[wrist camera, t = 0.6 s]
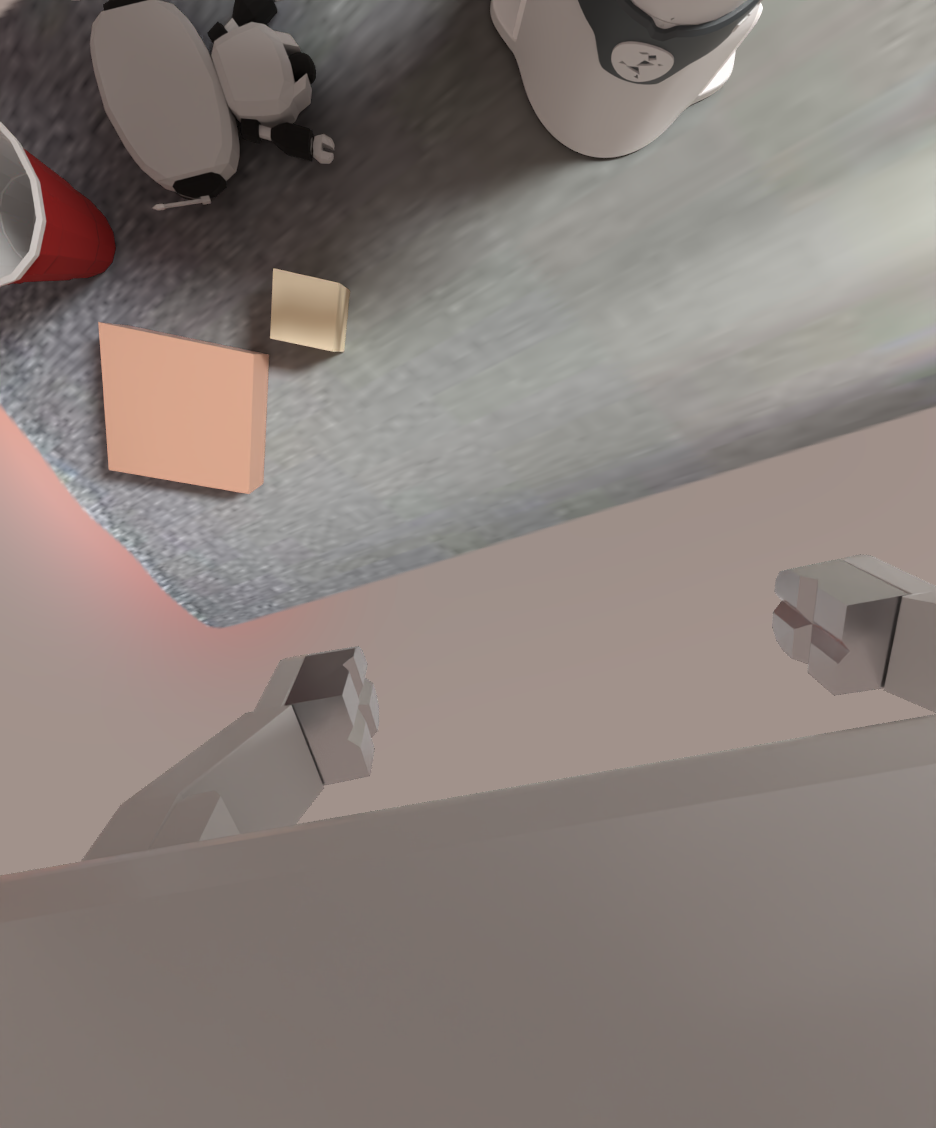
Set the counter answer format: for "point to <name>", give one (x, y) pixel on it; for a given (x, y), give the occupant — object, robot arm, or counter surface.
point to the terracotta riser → (184, 408)
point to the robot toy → (200, 91)
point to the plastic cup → (46, 222)
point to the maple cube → (309, 311)
